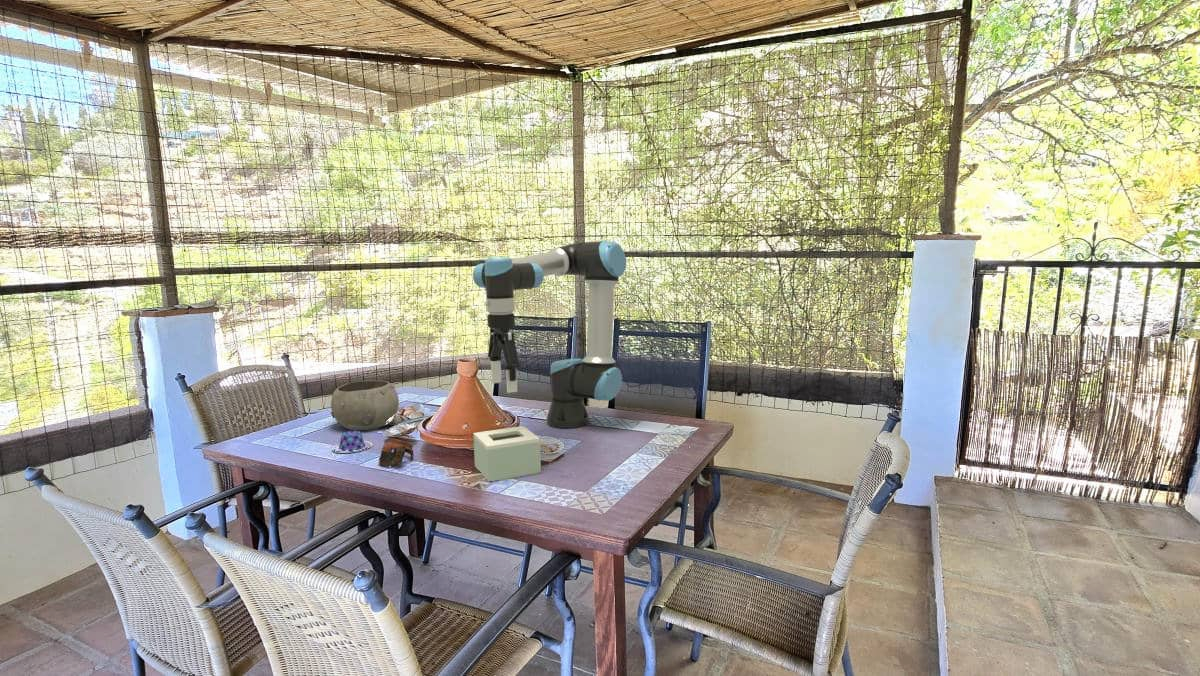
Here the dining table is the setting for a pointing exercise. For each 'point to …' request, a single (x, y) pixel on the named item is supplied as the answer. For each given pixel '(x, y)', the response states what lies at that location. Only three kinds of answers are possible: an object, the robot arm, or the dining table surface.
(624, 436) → the dining table surface
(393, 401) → the bowl
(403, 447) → the pottery mug
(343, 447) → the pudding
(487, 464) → the slot box
